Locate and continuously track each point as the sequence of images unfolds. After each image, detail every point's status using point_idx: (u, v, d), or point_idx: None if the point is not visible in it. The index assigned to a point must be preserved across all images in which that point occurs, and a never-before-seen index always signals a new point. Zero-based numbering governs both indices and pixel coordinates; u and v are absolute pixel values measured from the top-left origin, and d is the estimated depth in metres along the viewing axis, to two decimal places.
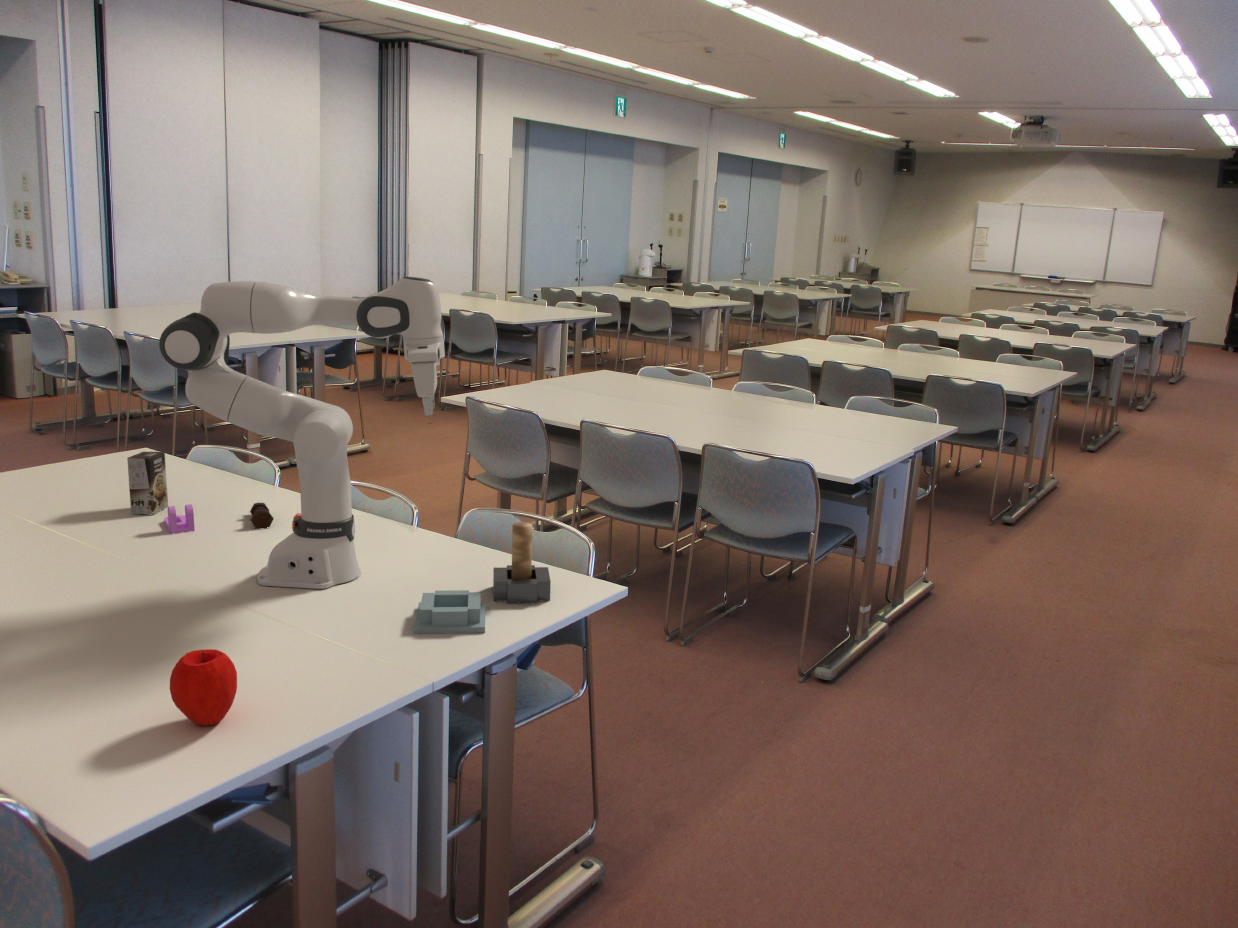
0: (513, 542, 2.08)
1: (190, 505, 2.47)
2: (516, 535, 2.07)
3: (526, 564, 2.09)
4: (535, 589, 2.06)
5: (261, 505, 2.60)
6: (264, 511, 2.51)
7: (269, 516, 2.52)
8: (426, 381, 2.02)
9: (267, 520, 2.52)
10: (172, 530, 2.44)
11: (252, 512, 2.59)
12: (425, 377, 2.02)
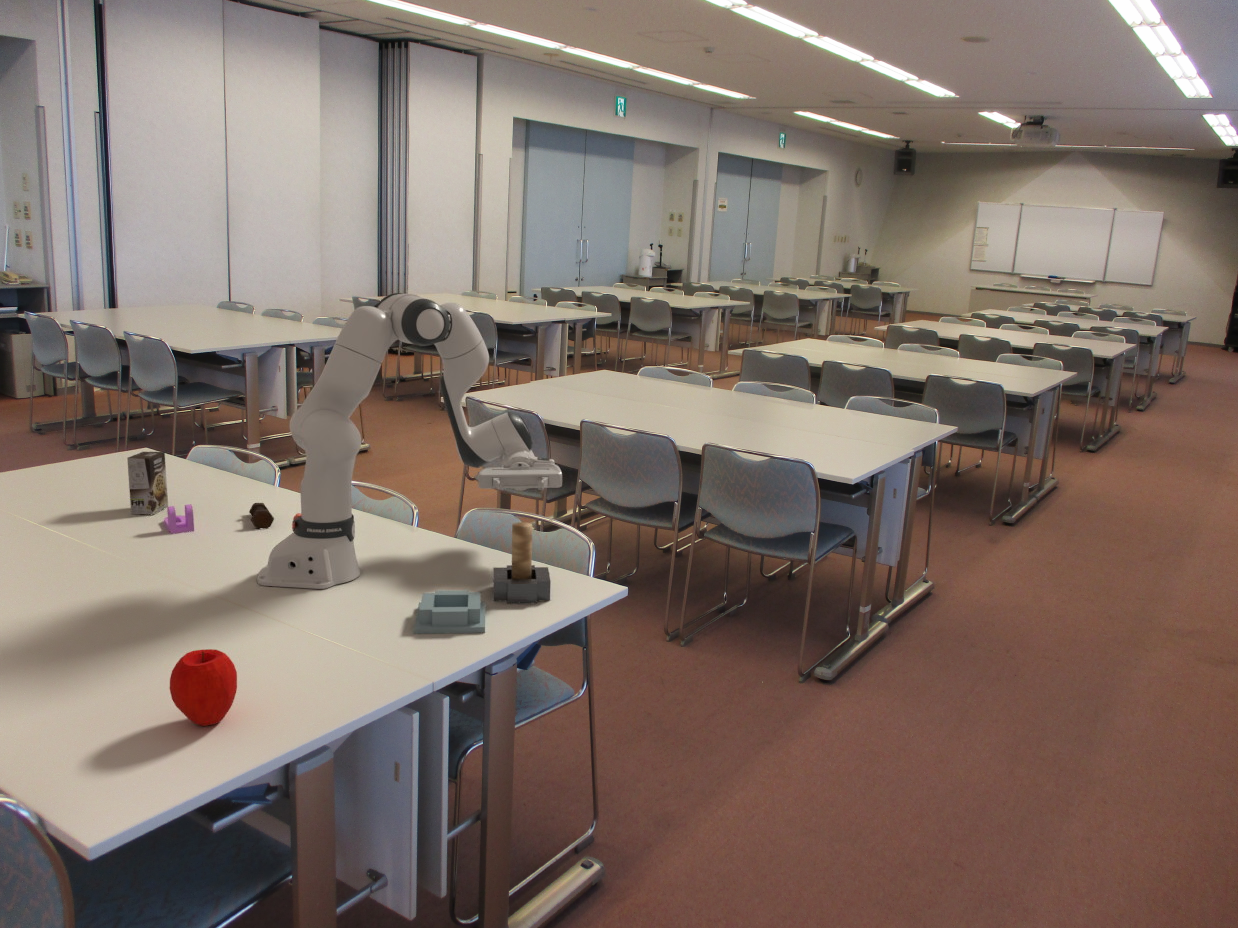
0: (513, 542, 2.08)
1: (190, 505, 2.47)
2: (516, 535, 2.07)
3: (525, 564, 2.09)
4: (535, 589, 2.06)
5: (260, 505, 2.60)
6: (265, 511, 2.51)
7: (270, 516, 2.52)
8: None
9: (268, 520, 2.52)
10: (172, 530, 2.44)
11: (251, 512, 2.59)
12: None
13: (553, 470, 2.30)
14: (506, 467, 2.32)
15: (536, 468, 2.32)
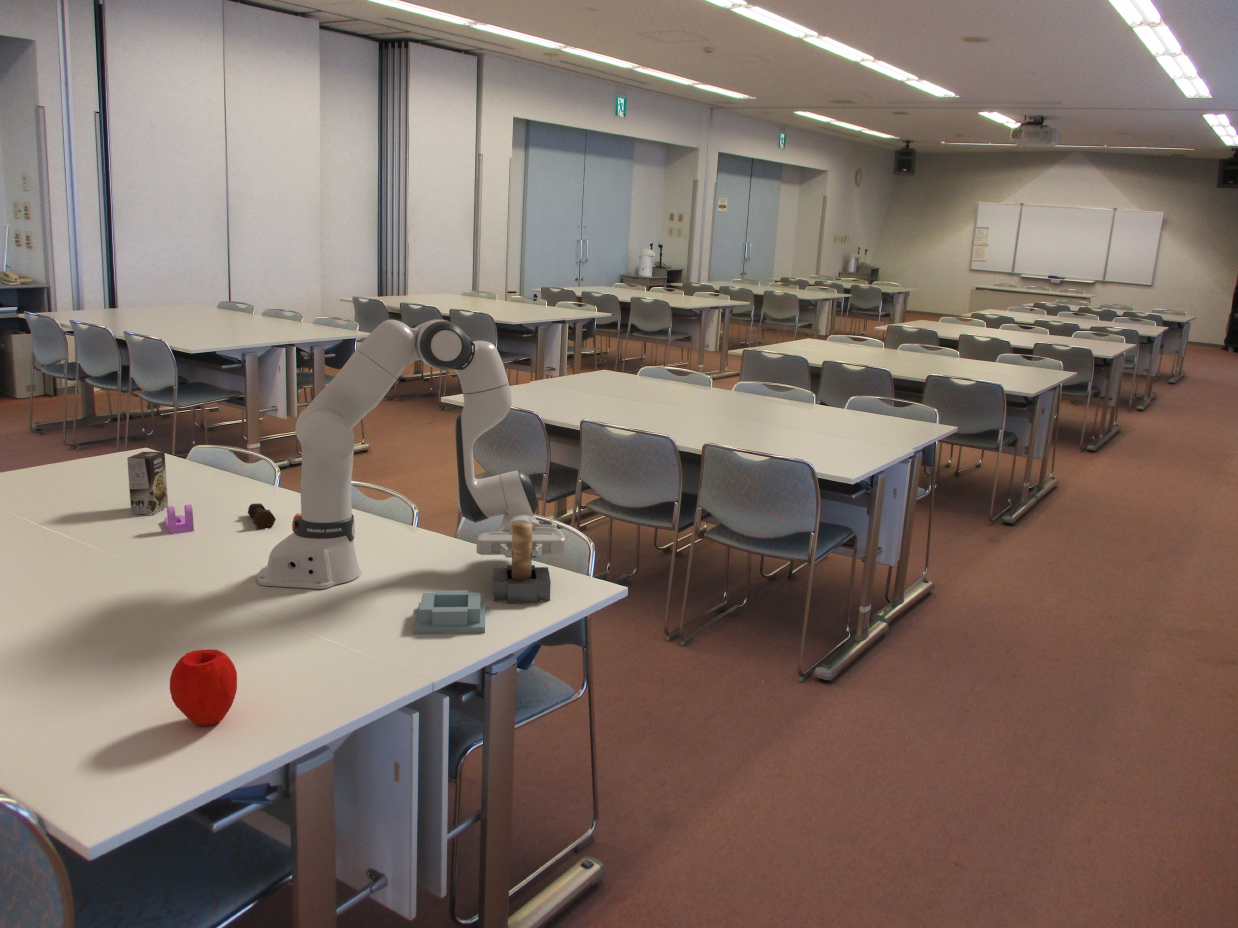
0: (513, 542, 2.08)
1: (189, 505, 2.46)
2: (516, 535, 2.07)
3: (526, 564, 2.09)
4: (535, 589, 2.06)
5: (259, 506, 2.59)
6: (267, 511, 2.51)
7: (272, 516, 2.52)
8: None
9: (270, 520, 2.52)
10: (171, 530, 2.44)
11: (250, 513, 2.58)
12: None
13: (556, 535, 2.17)
14: (506, 531, 2.19)
15: (538, 533, 2.19)
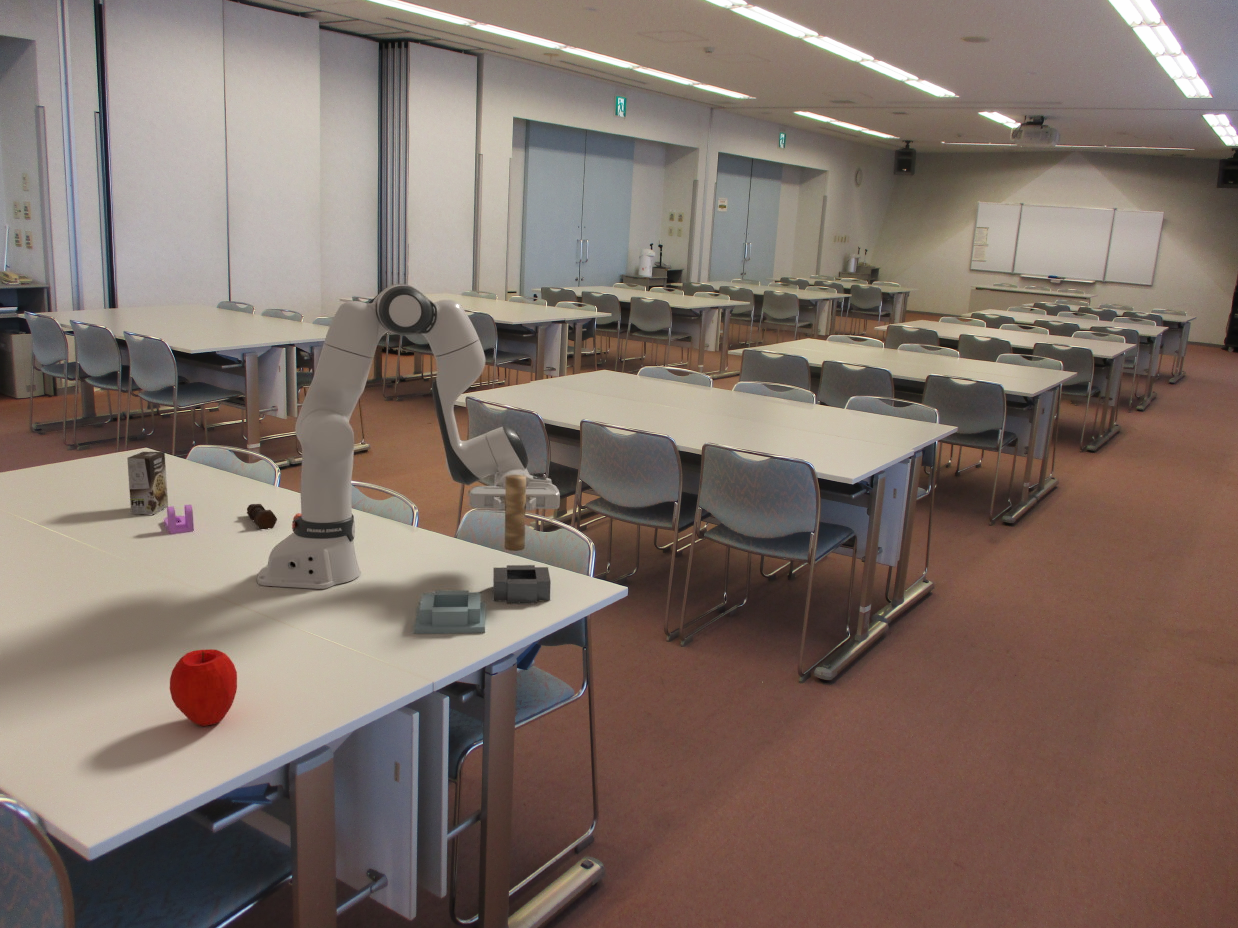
0: (506, 494, 2.04)
1: (189, 505, 2.46)
2: (509, 487, 2.03)
3: (519, 517, 2.05)
4: (535, 589, 2.06)
5: (259, 506, 2.59)
6: (268, 511, 2.51)
7: (273, 516, 2.52)
8: None
9: (271, 520, 2.52)
10: (171, 530, 2.44)
11: (250, 513, 2.58)
12: None
13: (550, 490, 2.13)
14: (499, 486, 2.15)
15: (532, 487, 2.15)
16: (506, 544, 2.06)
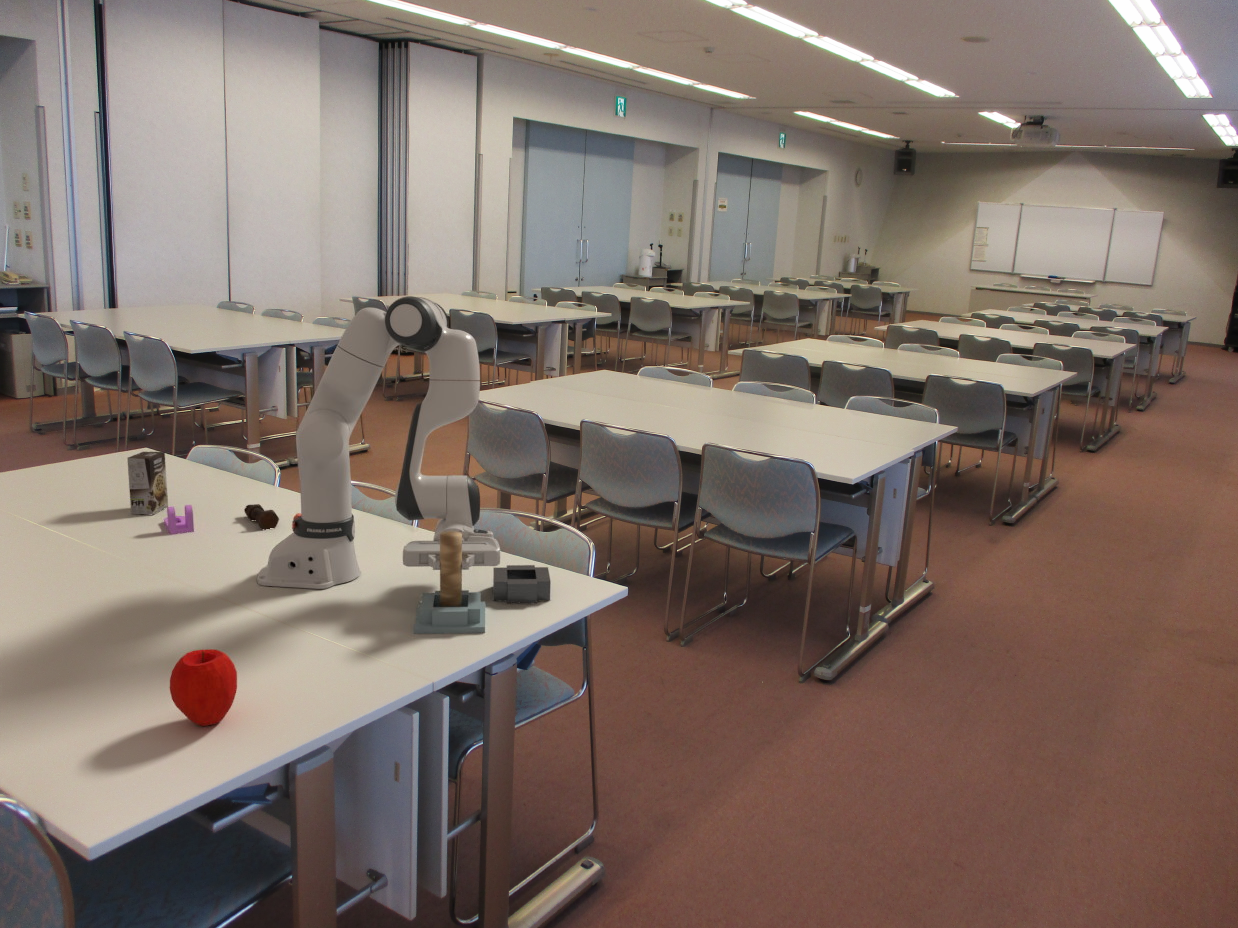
0: (441, 553, 1.91)
1: (190, 506, 2.46)
2: (443, 545, 1.90)
3: (454, 577, 1.92)
4: (535, 589, 2.06)
5: (258, 506, 2.58)
6: (270, 511, 2.51)
7: (275, 516, 2.52)
8: None
9: (274, 520, 2.52)
10: (171, 530, 2.44)
11: (249, 514, 2.57)
12: None
13: (490, 545, 2.00)
14: (437, 540, 2.02)
15: (471, 542, 2.02)
16: (441, 605, 1.93)
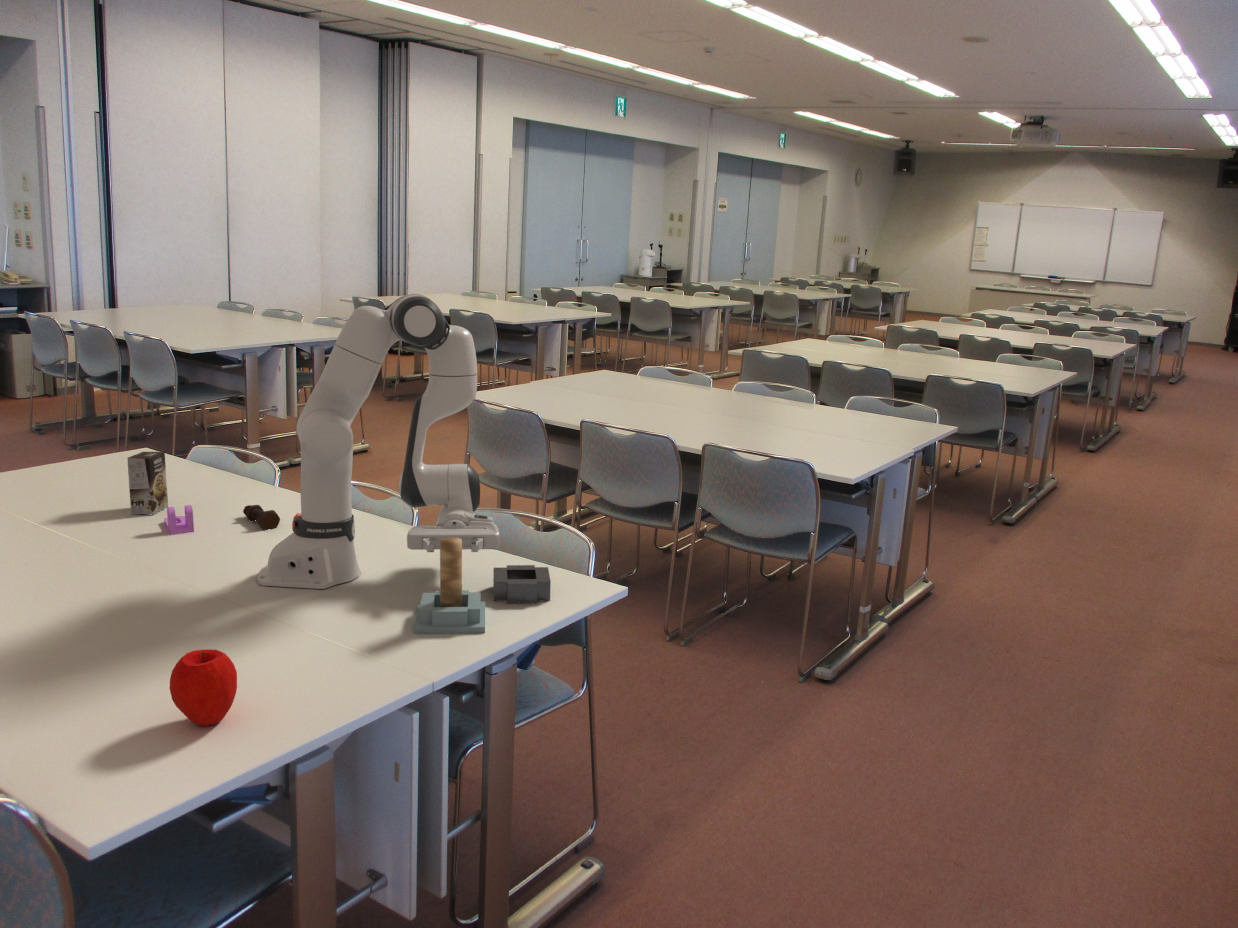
0: (441, 559, 1.91)
1: (189, 506, 2.46)
2: (443, 551, 1.90)
3: (455, 583, 1.92)
4: (535, 589, 2.06)
5: (257, 507, 2.58)
6: (272, 512, 2.51)
7: (276, 516, 2.52)
8: None
9: (275, 520, 2.52)
10: (171, 531, 2.44)
11: (249, 515, 2.56)
12: None
13: (490, 530, 2.11)
14: (439, 525, 2.13)
15: (472, 527, 2.13)
16: None
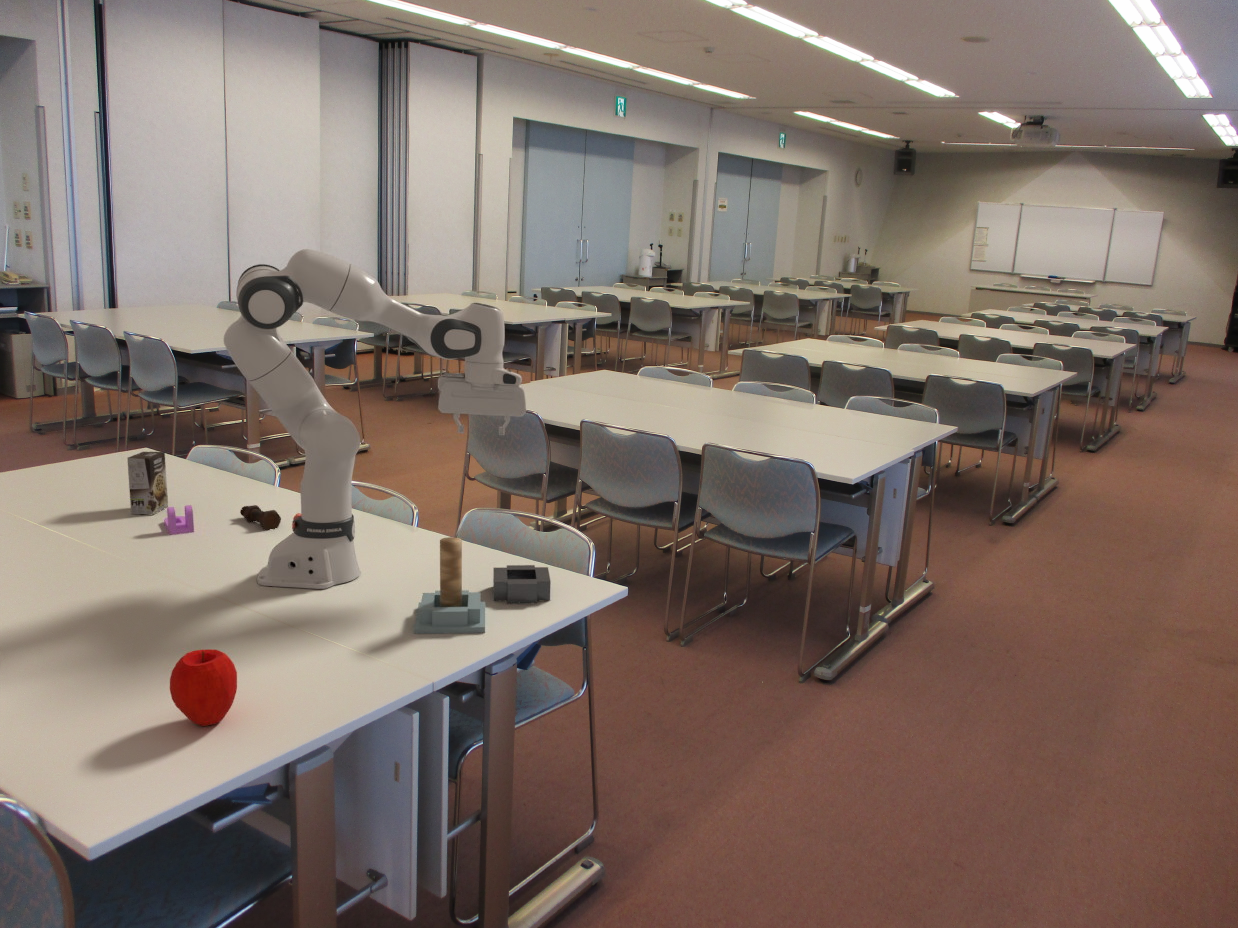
0: (441, 559, 1.91)
1: (190, 506, 2.46)
2: (443, 551, 1.90)
3: (455, 583, 1.92)
4: (535, 589, 2.06)
5: (256, 507, 2.57)
6: (273, 512, 2.51)
7: (278, 516, 2.52)
8: None
9: (276, 520, 2.52)
10: (171, 531, 2.43)
11: (247, 515, 2.56)
12: None
13: (517, 404, 2.19)
14: (468, 385, 2.17)
15: (500, 392, 2.18)
16: None
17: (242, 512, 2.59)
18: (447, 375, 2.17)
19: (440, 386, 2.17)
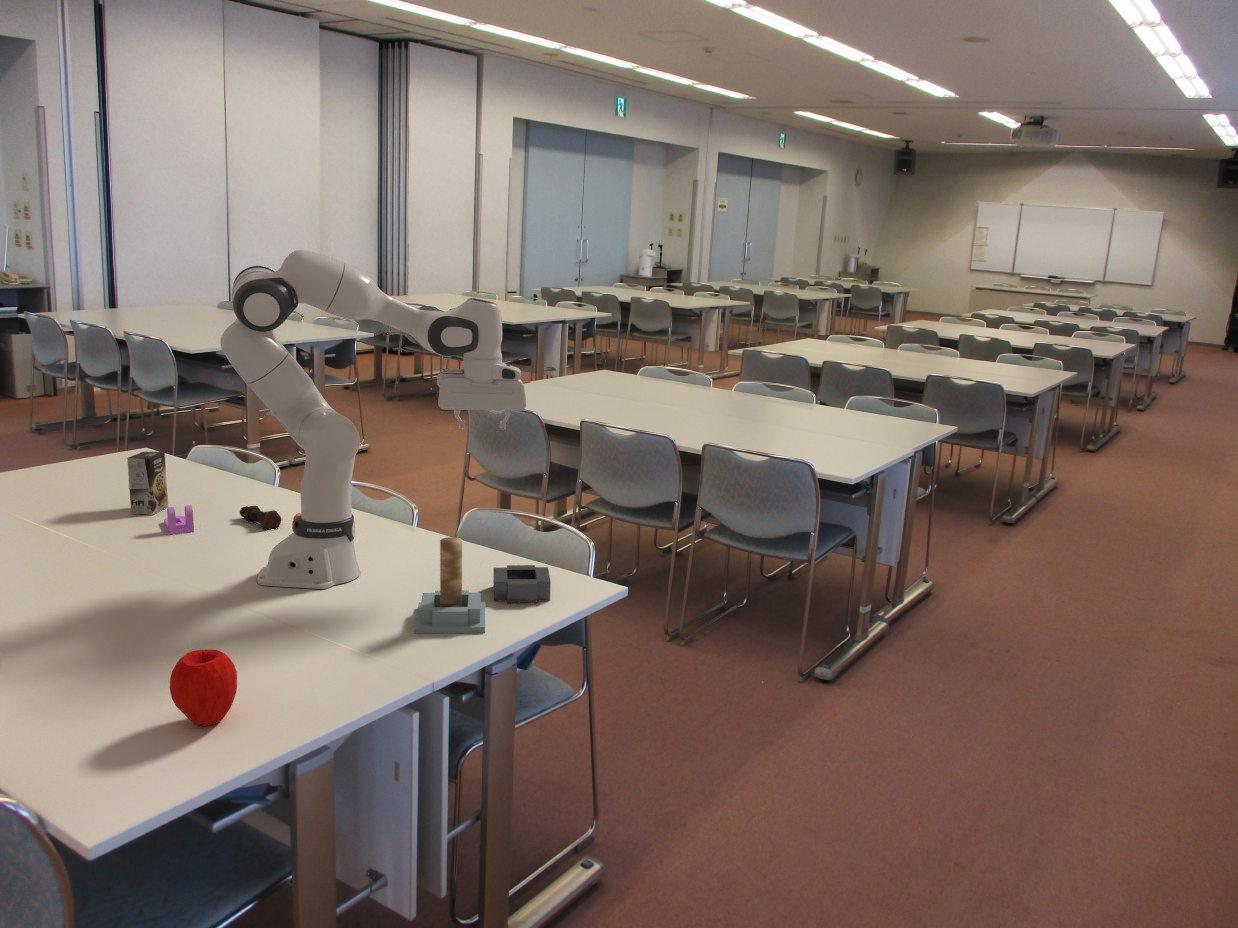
0: (441, 559, 1.91)
1: (189, 506, 2.46)
2: (443, 551, 1.90)
3: (455, 583, 1.92)
4: (535, 589, 2.06)
5: (255, 508, 2.57)
6: (273, 512, 2.51)
7: (278, 516, 2.52)
8: None
9: (277, 521, 2.52)
10: (171, 531, 2.43)
11: (247, 516, 2.55)
12: None
13: (517, 398, 2.18)
14: (468, 381, 2.16)
15: (500, 386, 2.17)
16: None
17: (241, 513, 2.58)
18: (446, 371, 2.16)
19: (439, 383, 2.17)
